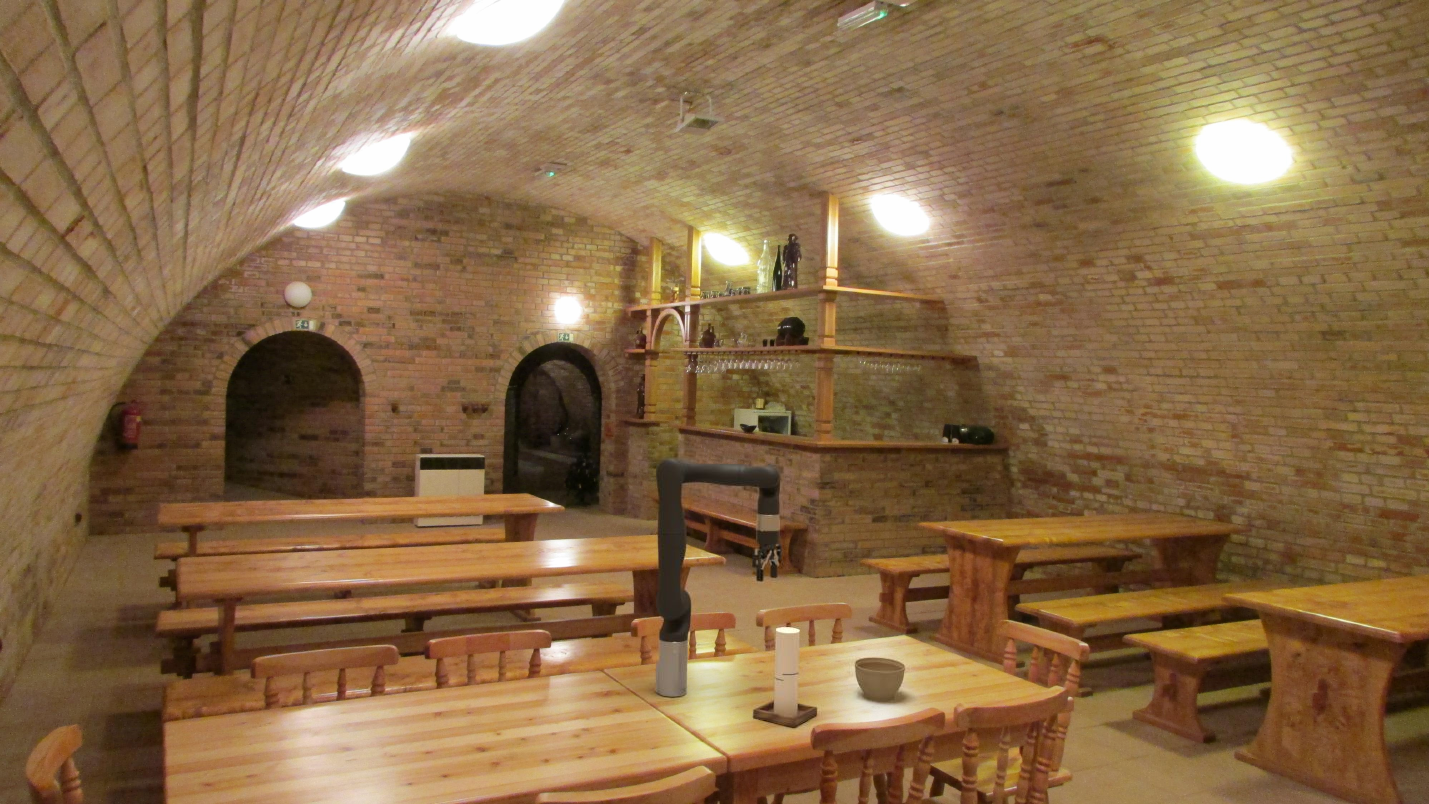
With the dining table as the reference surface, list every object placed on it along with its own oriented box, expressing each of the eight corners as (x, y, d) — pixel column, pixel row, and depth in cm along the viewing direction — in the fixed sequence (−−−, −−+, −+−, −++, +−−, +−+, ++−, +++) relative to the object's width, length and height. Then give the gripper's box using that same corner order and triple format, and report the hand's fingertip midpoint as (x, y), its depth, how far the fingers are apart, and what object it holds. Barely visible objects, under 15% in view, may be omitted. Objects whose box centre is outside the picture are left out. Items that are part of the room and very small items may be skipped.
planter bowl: (848, 701, 308) (849, 667, 307) (860, 687, 322) (861, 654, 322) (898, 708, 301) (899, 673, 301) (908, 694, 316) (909, 661, 316)
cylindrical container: (796, 718, 287) (798, 633, 286) (772, 716, 288) (774, 632, 288) (798, 710, 294) (800, 628, 293) (774, 708, 295) (777, 626, 295)
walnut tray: (753, 717, 288) (753, 709, 288) (776, 706, 300) (777, 698, 300) (794, 727, 280) (794, 718, 280) (817, 715, 292) (817, 707, 292)
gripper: (769, 525, 316) (768, 575, 316) (746, 529, 304) (744, 581, 304) (789, 527, 312) (788, 577, 311) (766, 531, 300) (765, 583, 300)
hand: (766, 579), depth 308 cm, fingers open, 8 cm apart
